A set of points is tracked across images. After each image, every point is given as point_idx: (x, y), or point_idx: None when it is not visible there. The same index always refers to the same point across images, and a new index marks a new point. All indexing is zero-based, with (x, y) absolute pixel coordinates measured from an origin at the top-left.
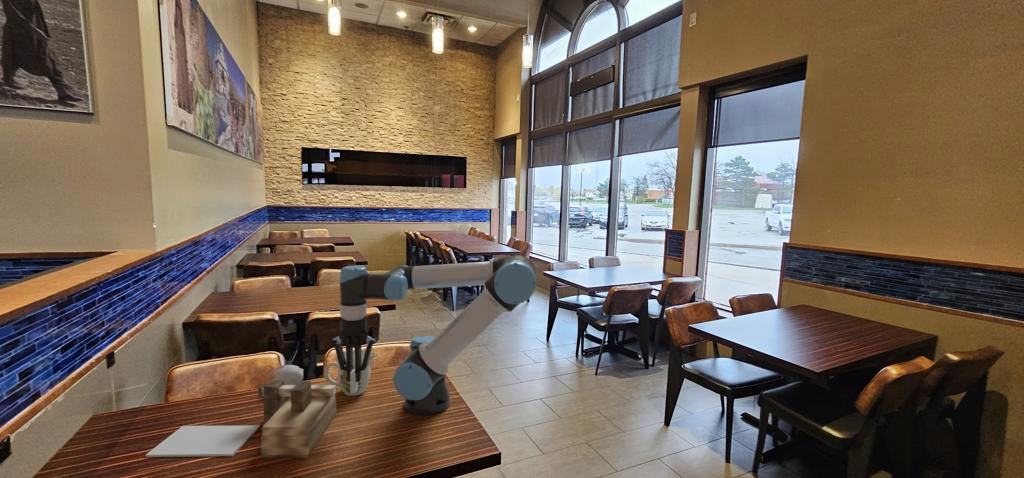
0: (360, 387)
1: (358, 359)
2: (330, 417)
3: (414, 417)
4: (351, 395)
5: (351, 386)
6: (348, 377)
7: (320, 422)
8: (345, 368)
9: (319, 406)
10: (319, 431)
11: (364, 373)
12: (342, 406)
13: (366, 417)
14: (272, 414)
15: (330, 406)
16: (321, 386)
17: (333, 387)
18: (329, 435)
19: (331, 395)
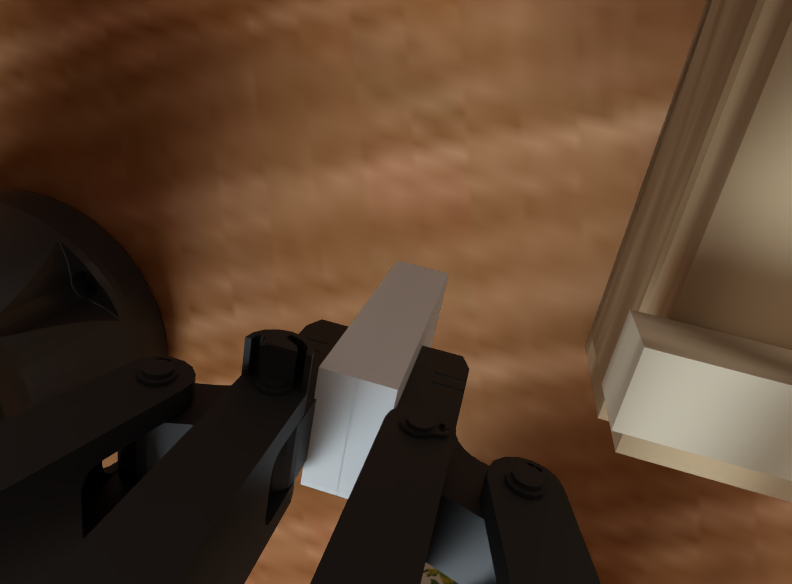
0: (427, 571)
1: (121, 519)
2: (628, 256)
3: (92, 185)
4: None
5: (422, 297)
6: (444, 383)
7: (733, 32)
8: (470, 483)
9: (786, 127)
10: (722, 8)
11: None
12: (546, 443)
13: (381, 261)
14: None
15: (641, 288)
16: (789, 443)
17: (640, 377)
18: (626, 70)
19: (650, 318)
